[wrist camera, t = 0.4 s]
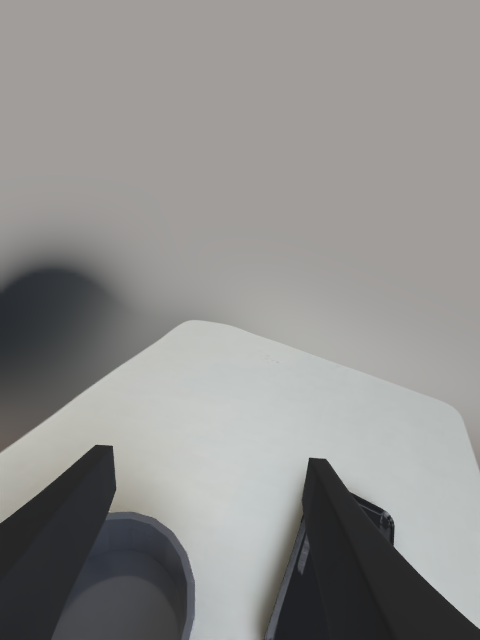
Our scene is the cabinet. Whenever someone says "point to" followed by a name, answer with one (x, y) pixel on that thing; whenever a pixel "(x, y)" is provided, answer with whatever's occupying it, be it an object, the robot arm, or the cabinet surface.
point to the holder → (131, 585)
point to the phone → (311, 586)
